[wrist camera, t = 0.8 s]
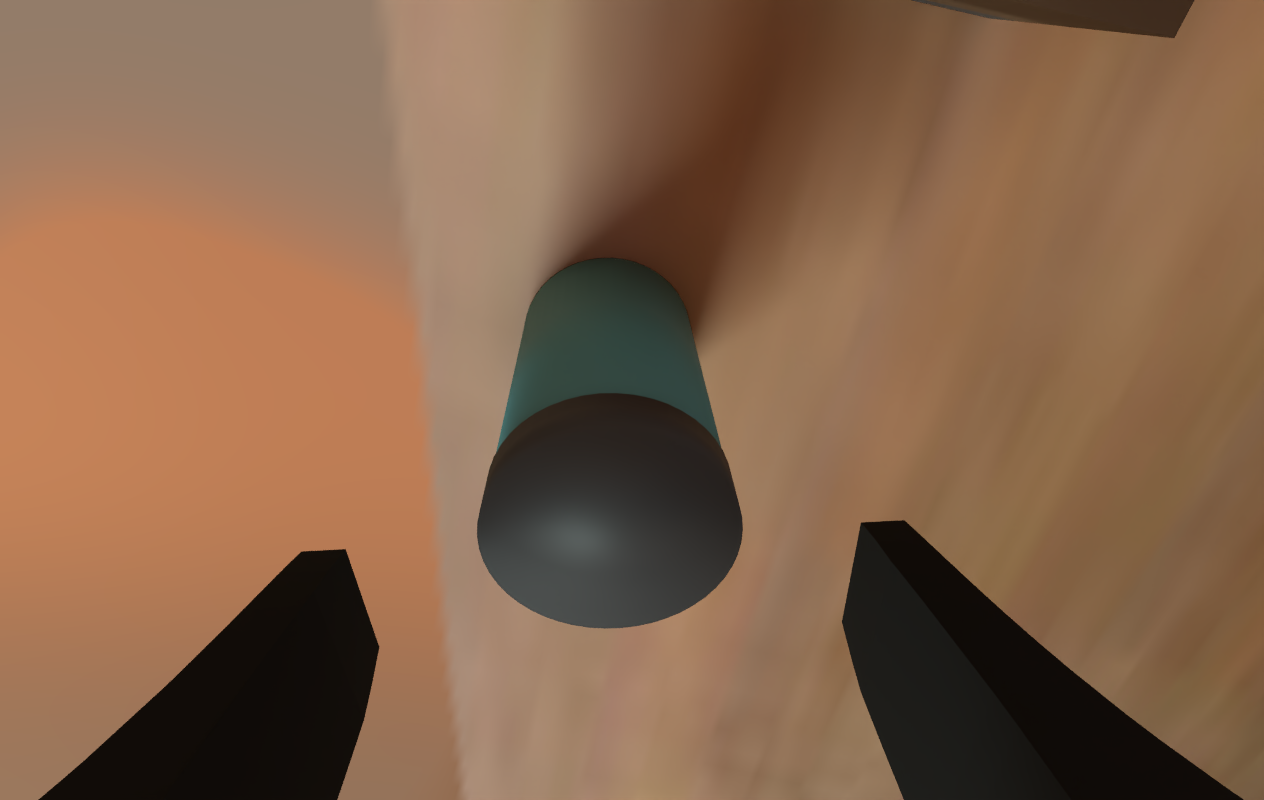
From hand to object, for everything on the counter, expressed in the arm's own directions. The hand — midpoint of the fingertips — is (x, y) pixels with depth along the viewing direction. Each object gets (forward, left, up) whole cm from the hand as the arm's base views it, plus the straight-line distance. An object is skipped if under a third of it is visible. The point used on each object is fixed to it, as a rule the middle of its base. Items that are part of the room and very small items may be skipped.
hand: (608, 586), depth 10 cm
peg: (0, 0, -8) cm, 8 cm away
